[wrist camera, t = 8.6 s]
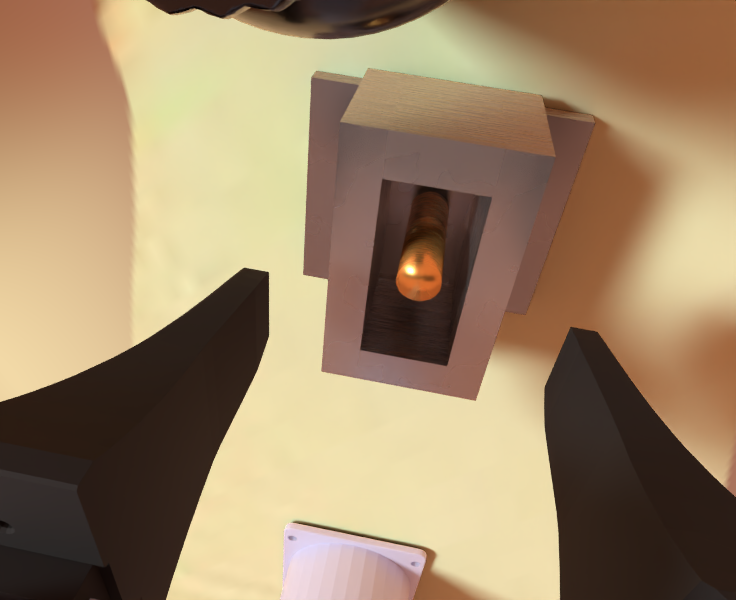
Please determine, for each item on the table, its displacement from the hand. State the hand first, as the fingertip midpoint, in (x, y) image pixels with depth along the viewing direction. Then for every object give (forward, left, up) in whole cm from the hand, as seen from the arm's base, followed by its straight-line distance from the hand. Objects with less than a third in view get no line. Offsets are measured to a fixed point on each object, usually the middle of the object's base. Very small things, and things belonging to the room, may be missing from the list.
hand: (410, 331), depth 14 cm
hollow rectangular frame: (0, 0, -6) cm, 6 cm away
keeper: (0, 0, -6) cm, 6 cm away
